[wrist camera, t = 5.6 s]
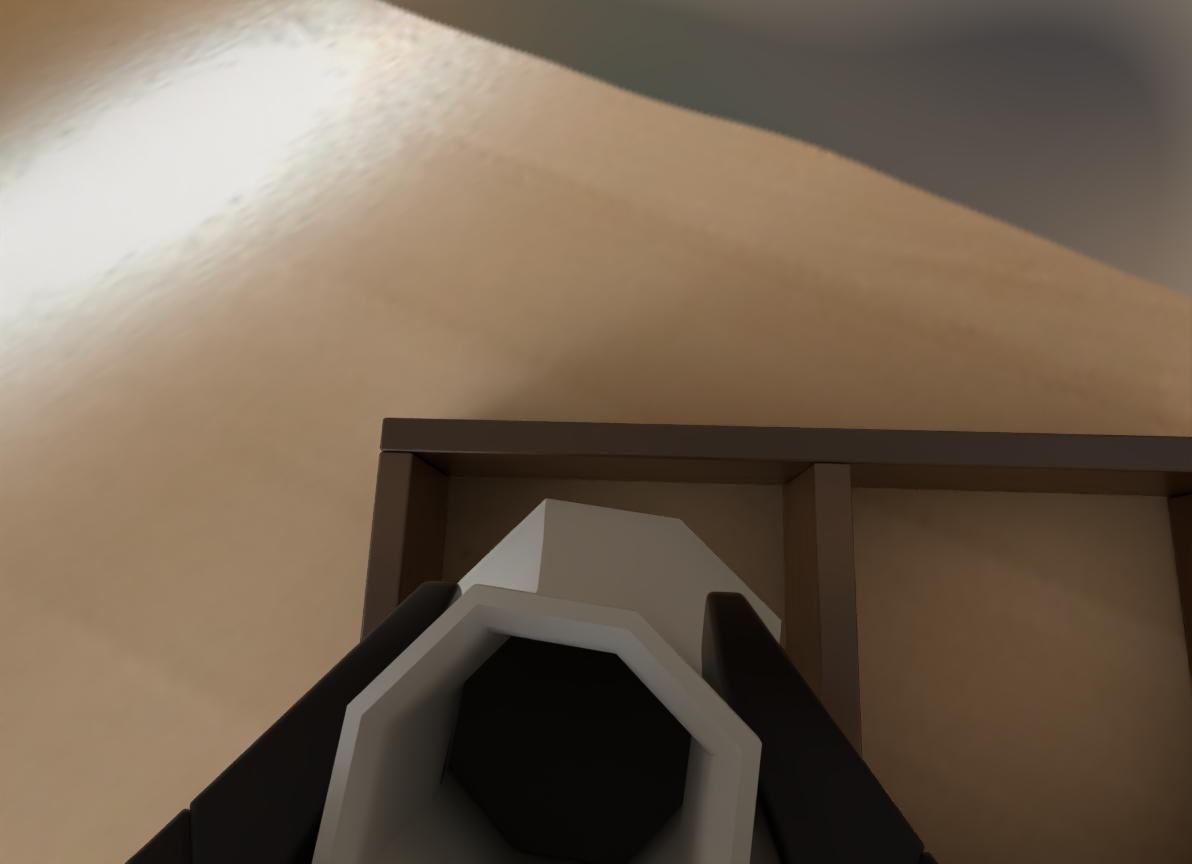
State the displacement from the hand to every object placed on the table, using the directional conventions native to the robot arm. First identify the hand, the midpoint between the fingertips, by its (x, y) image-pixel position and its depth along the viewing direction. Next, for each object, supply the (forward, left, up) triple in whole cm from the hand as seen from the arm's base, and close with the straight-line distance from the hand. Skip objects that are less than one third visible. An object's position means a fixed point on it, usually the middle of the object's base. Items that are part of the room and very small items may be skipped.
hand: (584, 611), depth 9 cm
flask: (-1, +1, -7) cm, 7 cm away
